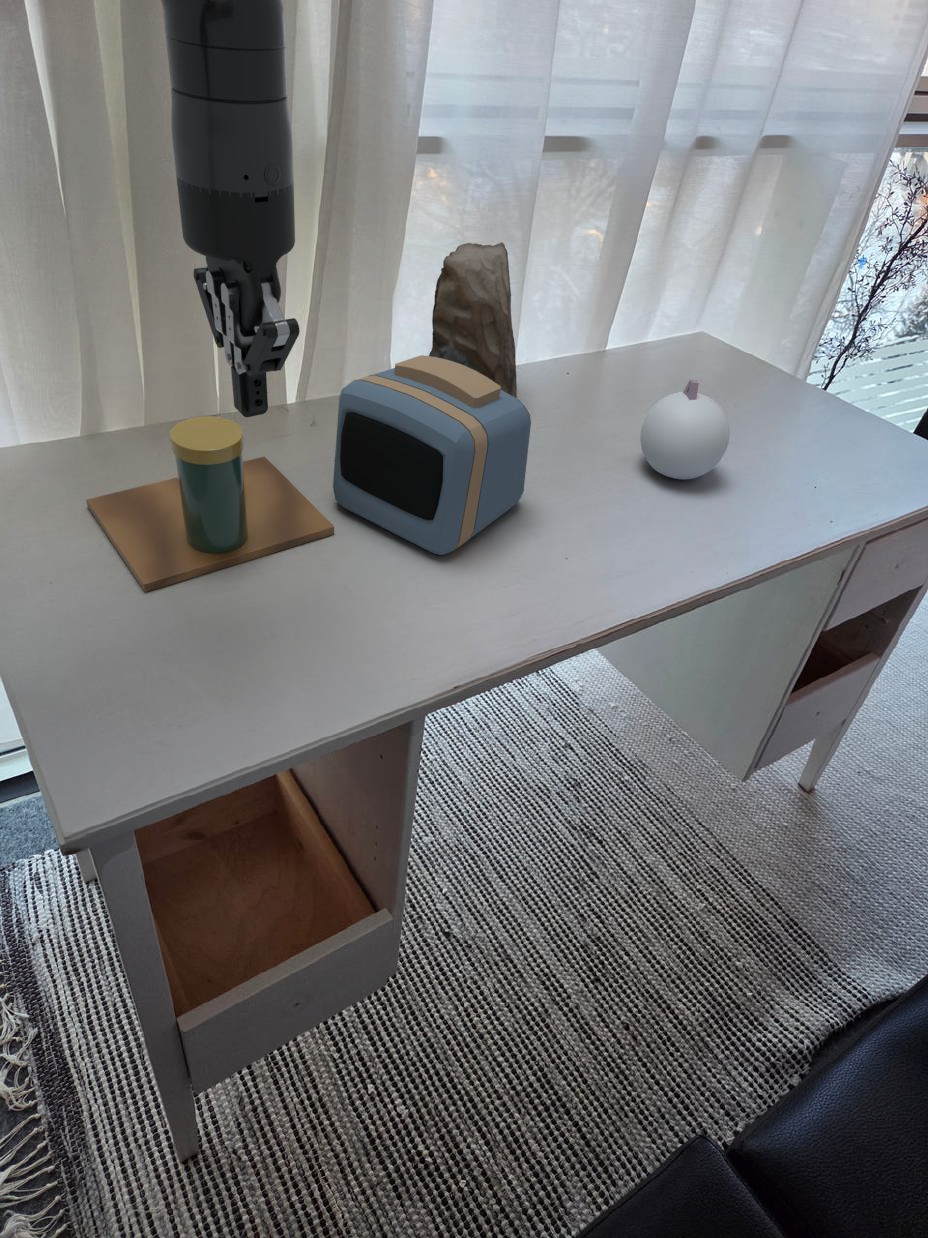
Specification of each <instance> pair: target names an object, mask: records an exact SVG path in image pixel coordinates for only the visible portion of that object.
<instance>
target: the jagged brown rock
mask: <svg viewBox="0 0 928 1238" xmlns="http://www.w3.org/2000/svg"><path fill="white" fill-rule="evenodd" d="M509 268H510V265H509V253H508V249H507V248H506V244H505V243H504V242H502V241H501V242H499V243H497V244H494V245H493V244H484V245H483V244H481V243H477V242H475V243H472V242H466V243H463V244H459V245H458V246H457V247H456V249H455V251H451V252H450V253H449V255H446V256H445V257H444V259H443V263H442V267H441V268H440V269H441V270H440V274H439V277H438V278H437V281H436V284H435V291H434V304H433V308H432V318H431V323H432V325H431V326H432V344H431V345H432V346H431V349H430V352H429V354H428V356H432V357H437V358H442V359H446V360H450V361H453V362H456V363H459V364H462V365H464V366H466V367H468V368H471V369H473V370H475V371H477V372H479V373H480V374H482V375H484V376H486V377H487V378H489V379H490V380H492V381H493V382H495V383H496V384H498V385H499V386H501V390H502V391H504V392H506V393H508V394H509V395H511V396H513V397H515V398H517V399H518V397H517V395H518V394H517V392H518V390H517V389H518V388H517V364H516V363H517V362H516V344H515V342H516V341H515V337H514V330H513V322H512V321H513V320H512V290H511V288H512V287H511V277H510V269H509Z"/></svg>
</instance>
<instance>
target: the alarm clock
mask: <svg viewBox="0 0 928 1238" xmlns="http://www.w3.org/2000/svg"><path fill="white" fill-rule="evenodd" d="M338 397H339V398H338V410H337V422H336V423H337V424H336V437H335V439H336V440H335V450H334V451H335V452H334V466H333V480H332V481H333V482H332V488H333V495H334V500H335V501H336V502H337V503H338V504H340V506H342V508H344V509H346V510H348V511H349V512H352V513H354V514H355V515H357V516H359V517H361V518H364V519H365V520H367V521H369V522H370V523H373V524H375V525H377V526H379V527H381V528H383V529H385V530H386V531H388V532H390V533H393V534H394V535H396V536H398V537H400V538H403V539H404V540H406V541H408V542H410V543H412V544H414V545H417V546H418V547H420V548H422V549H424V550H426V551H428V552H430V553H432V554H435V555H440V556H444V555H446V554H449V553H452V552H453V551H456V550H457V549H458V548H460V547H461V546H462V545H464V544H465V543H466V542H468V541H469V540H470V539H472V538H473V537H474V536H476V535H478V533H480V532H482V531H483V530H484V529H485V528H487V527H488V526H490V525H491V523H493V522H495V521H496V520H497V519H498V518H500V517H501V516H502V515H504V514H506V512H508V511H509V510H510V509H512V508H513V507H514V506H515V505H517V504H518V503H519V502H520V500H521V498H522V496H523V494H524V491H525V482H526V473H527V463H528V455H529V444H530V437H531V426H532V419H531V414H530V412H529V410H528V409H527V407H526V405H525V404H524V403H523V402H522V401H521V400H520V399H519V398H518V397H517V398H515V397H513V396H511V395H509V394H508V393H506V392H504V391H502V390H501V386H499V385H498V384H496V383H495V382H493V381H492V380H490V379H489V378H487V377H486V376H484V375H482V374H480V373H479V372H477V371H475V370H473V369H471V368H468V367H466V366H464V365H462V364H459V363H456V362H453V361H450V360H446V359H442V358H437V357H432V356H429V355H424V354H421V355H417V356H414V357H412V358H408V359H405V360H401V361H399V362H397V363H395V364H394V367H393V368H389V369H386V370H383V371H380V372H376V373H374V374H370V375H366V376H363V377H360V378H357V379H354V380H352V381H351V382H349V383H348V384H347V385H345V386H344V387H342V389H341V391H340V394H339V396H338Z"/></svg>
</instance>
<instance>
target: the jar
mask: <svg viewBox="0 0 928 1238" xmlns="http://www.w3.org/2000/svg"><path fill="white" fill-rule="evenodd" d="M169 438H170V439H169V440H170V444H171V451H172V453H173V455H174V458H175V467H176V473H177V477H178V481H179V489H180V496H181V503H182V511H183V518H184V526H185V533H186V540H187V542H188V544H189V545H190V546H191V547H193V548H194V549H196V550H198V551H201V552H205V553H213V554H216V553H226V552H230V551H233V550H235V549H238V548H239V547H241V546H242V545H243V544H244V543H245V542H246V541H247V539H248V523H247V509H246V496H245V483H244V470H243V461H244V459H243V451H244V449H245V443H244V442H245V441H244V431H243V429H242V427H241V426H240V424H238V423H236V422H235V421H233V420H231V419H228V418H224V417H221V416H209V415H206V416H196V417H195V416H194V417H190V418H186V419H184V420H181V421H179V422H177V423H176V424H175V425H173V426H172V427H171V429H170V432H169Z"/></svg>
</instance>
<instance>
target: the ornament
mask: <svg viewBox="0 0 928 1238" xmlns="http://www.w3.org/2000/svg"><path fill="white" fill-rule="evenodd" d="M699 385H700V382H699V381H698V379H689V380H688V382H687V384H686V386H685V387H684V390H683V391H679V392H675V393H670V394H668V395H666V396H664V397H662V398H661V399H660V400H658V401H657V402H656V403H655V404H654V405H653V406H652V407H651V408H650V409H649V411H648V412H647V413H646V415H645V417H644V420H643V422H642V425H641V429H640V437H639V439H640V447H641V451H642V454H643V456H644V458H645V460H646V462H647V463H648V464H649V465H650V466H651V468H652V469H654V470H655V471H656V472H658V474H661V475H663V476H665V477H667V478H671V479H675V480H691V479H696V478H699V477H702V476H703V475H706V474H707V473H709V472H711V470H713V469H714V468H715V467H716V466H717V465H718V464H719V463H720V462H721V460H722V459H723V457H724V456H725V453H726V451H727V449H728V447H729V442H730V435H731V434H730V433H731V432H730V430H731V429H730V423H729V420H728V417H727V415H726V413H725V411H724V410H723V408H722V407H721V406H720V404H718V403H717V402H716V401H715V400H714V399H712V398H711V397H709V396H707V395H705V394H702V393H699V392H698V390H699Z"/></svg>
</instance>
